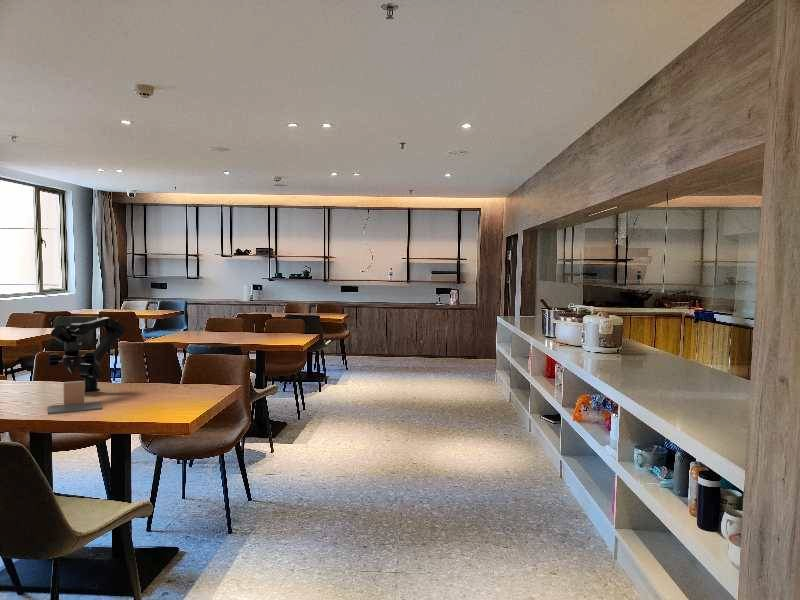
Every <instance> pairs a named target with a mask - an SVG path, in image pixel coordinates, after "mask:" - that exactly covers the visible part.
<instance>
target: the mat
mask: <svg viewBox="0 0 800 600" xmlns="http://www.w3.org/2000/svg"><path fill="white" fill-rule="evenodd" d="M94 410H103V406H102V403H101V401H92V402H84V403H80V404H69V405H64V404H58V405H48V406H47V415H53V414H65V413H75V412H84V411H85V412H86V411H94Z"/></svg>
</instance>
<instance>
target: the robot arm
mask: <svg viewBox="0 0 800 600" xmlns="http://www.w3.org/2000/svg"><path fill="white" fill-rule="evenodd" d="M100 328H103V329H104V337H103V338H102V340H101V341H100V343H99V344H98V346H97V347H96V349H95V350H94V351H88V352H87V351H86V352H85V353H84V354H82V355H80V350H83V341H81V340H80V338H78V337H77V336H80V337H81V336H85V335H88V334H90V332H91V331H93V330H96V329H100ZM125 333H126V328H125V326H124V325H123V324H121V323H120V322H119V321H116V320H114V319H113V318H111V317H110V316H109V317H108V316H107V317H106V316H103V317H101V318H97V319H94V320H90V321H87V322H76V323H74V322H73V323H70V324H69V326H67V327H66V326H65V325H64V324H58V326H56V327H55V328H53V329H52V330H51V332H50V336H51V337H52V338H54V339H55V340H57V341H58V342H59V343H64V354H63V355H62V356H59V353H50V354H48V357H47V358H48V366H49V367H53V366H55V367H56V366H57V365H59V363H60V362H62V366H63V367H66V369H67V370H68V371H69V373H70V374H71V375H74V373H75V371H76V369H77V371H78V374H79V378H80V379H84V380H83V381H84V392H93V391H100V388H99V387H98V379H101V378H102V376H103V373H102V371H100V362H101V360H103V358H104V357H105V356H106V354H107V352H108V350H110V348H111V347H112V345H113V343H114V342H115V341H117V340H118V339H120V338H122V336H124V334H125ZM72 363H73V364H72Z"/></svg>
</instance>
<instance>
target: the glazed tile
mask: <svg viewBox="0 0 800 600" xmlns="http://www.w3.org/2000/svg"><path fill="white" fill-rule="evenodd" d="M62 387H63V405H69V404H80V403H85V391H84V388H85V387H84V380H75V381H74V380H73V381H63V386H62Z"/></svg>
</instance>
